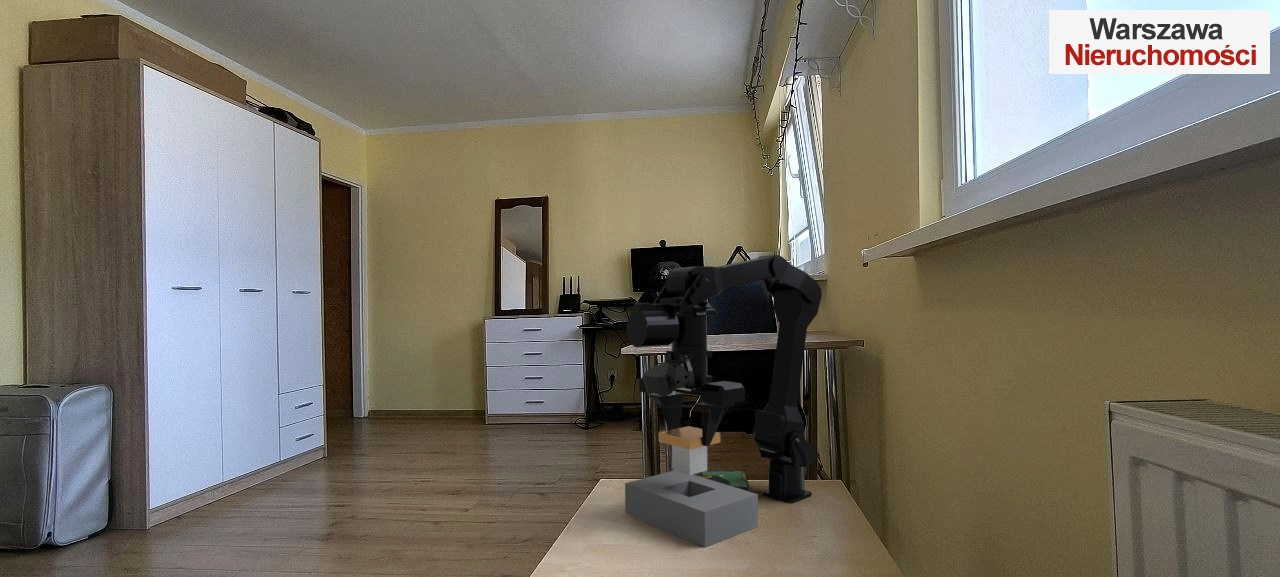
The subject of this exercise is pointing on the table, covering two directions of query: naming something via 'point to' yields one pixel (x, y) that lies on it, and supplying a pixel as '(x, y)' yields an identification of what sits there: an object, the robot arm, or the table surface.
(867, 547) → the table surface
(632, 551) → the table surface
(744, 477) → the disk drive
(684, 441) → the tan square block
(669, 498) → the gray rectangular block
